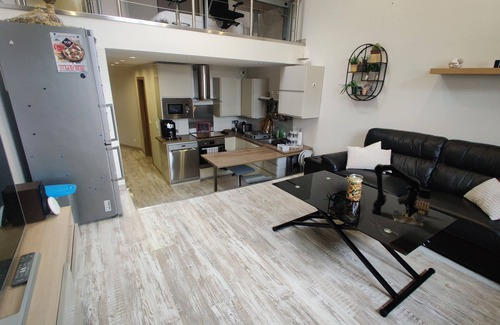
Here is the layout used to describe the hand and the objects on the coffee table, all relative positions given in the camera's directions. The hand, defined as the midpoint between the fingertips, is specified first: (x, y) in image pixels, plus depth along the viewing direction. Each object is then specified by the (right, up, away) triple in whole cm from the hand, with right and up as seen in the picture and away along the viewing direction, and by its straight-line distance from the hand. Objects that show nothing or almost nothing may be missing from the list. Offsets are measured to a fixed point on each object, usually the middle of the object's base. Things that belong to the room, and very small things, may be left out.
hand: (408, 215), depth 181 cm
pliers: (-26, -8, -12) cm, 30 cm away
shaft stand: (0, -4, +1) cm, 4 cm away
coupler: (0, -3, +1) cm, 3 cm away
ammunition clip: (+17, -2, +12) cm, 21 cm away
